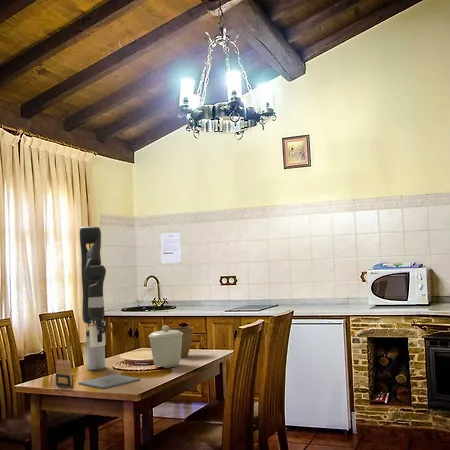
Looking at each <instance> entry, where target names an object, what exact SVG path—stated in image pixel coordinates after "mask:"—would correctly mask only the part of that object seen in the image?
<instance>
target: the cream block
mask: <svg viewBox="0 0 450 450" xmlns="http://www.w3.org/2000/svg"><path fill="white" fill-rule="evenodd" d="M98 328H100V327H98ZM88 330H89V335H90V347H99V346H104V347H105V346H106V345H107V344H106V332H105V333H103V334H102V342H98V339H97V335H98V334H97V330H96V324H89V327H88ZM102 330H103V329H102ZM99 331H100V329H99Z"/></svg>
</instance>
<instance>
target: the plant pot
mask: <svg viewBox="0 0 450 450" xmlns="http://www.w3.org/2000/svg"><path fill="white" fill-rule="evenodd" d="M168 330H177V331H180V332H181V333H183V335H182V345H181V358H186V357H188V356H189V353H190V349H191V345H192V341H193V335H194V334H193V333H194V331H193V330H194V327H191V326H180V327H178V326H177V327H169V329H168Z"/></svg>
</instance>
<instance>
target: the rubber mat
mask: <svg viewBox="0 0 450 450" xmlns="http://www.w3.org/2000/svg"><path fill="white" fill-rule="evenodd" d="M139 381H141V378H140V377H133V376H128V375H122V374H116V373H114V374H111V375H106V376H105V375H104V376H102V377H97V378H93V379H92V378H91V379H88V380H83V381H79V382H78V385H82V386H87V387H91V388H95V389H101V390H106V389H110V388H114V387H118V386H122V385H126V384H131V383H134V382H139ZM105 388H106V389H105Z"/></svg>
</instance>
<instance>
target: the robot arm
mask: <svg viewBox="0 0 450 450" xmlns="http://www.w3.org/2000/svg"><path fill="white" fill-rule="evenodd" d="M101 233H102V232H101V229H100V227H99V226H81V227H80V228H79V245H80V256H81V259H80V260H81V261H80V262H81V264H80V266H81V284H82V312H81V313H82V320H83V322H84V324H87V326H88V328H89V324H96V330H97V334H98V335H97V339H98V342H102V334H103V333H105V334H106V329H107V324H108V321H107V320H106V321H105V320H104V316H105V300H104V282H105V278H106V274H107V269H106V267H105V266H104V265H102V258H101V257H102V256H101V249H102V248H101V246H102V234H101ZM87 245H91V246H90V247H89V249H88V248H87ZM98 327H100V328H98ZM99 329H100V331H99ZM102 329H103V330H102ZM85 335H86V336H85V338H86V340H85V341H86V342H85V343H86V354H85V357H86V369H87V370H91V371H92V370H93V371H95V370H102V369H105V368H106V351H105V350H106V349H105V348H106V347H105V345H104V346H99V347H90V335H89V329H87V330H86V332H85Z"/></svg>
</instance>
